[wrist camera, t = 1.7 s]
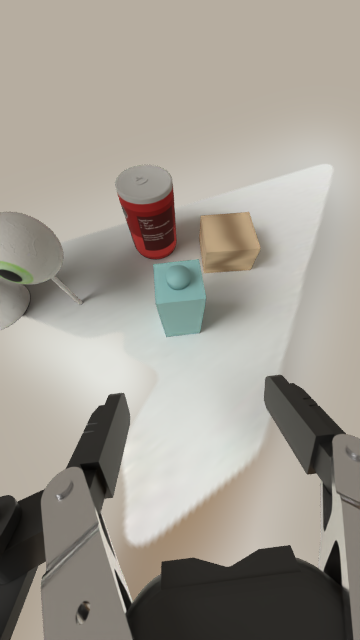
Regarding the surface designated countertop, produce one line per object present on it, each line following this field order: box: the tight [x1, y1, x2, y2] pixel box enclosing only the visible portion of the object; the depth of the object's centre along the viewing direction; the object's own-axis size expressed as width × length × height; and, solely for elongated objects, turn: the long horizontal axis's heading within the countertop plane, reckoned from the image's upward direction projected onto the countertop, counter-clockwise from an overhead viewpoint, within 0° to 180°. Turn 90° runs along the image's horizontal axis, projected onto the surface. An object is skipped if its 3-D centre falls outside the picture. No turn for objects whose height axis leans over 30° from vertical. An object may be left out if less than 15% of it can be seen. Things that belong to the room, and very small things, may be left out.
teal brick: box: [153, 259, 206, 337], centre depth 23 cm, size 5×5×11 cm
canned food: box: [115, 165, 176, 259], centre depth 30 cm, size 8×8×11 cm
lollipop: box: [0, 212, 83, 305], centre depth 23 cm, size 7×7×15 cm
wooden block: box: [199, 212, 261, 273], centre depth 31 cm, size 8×8×5 cm
